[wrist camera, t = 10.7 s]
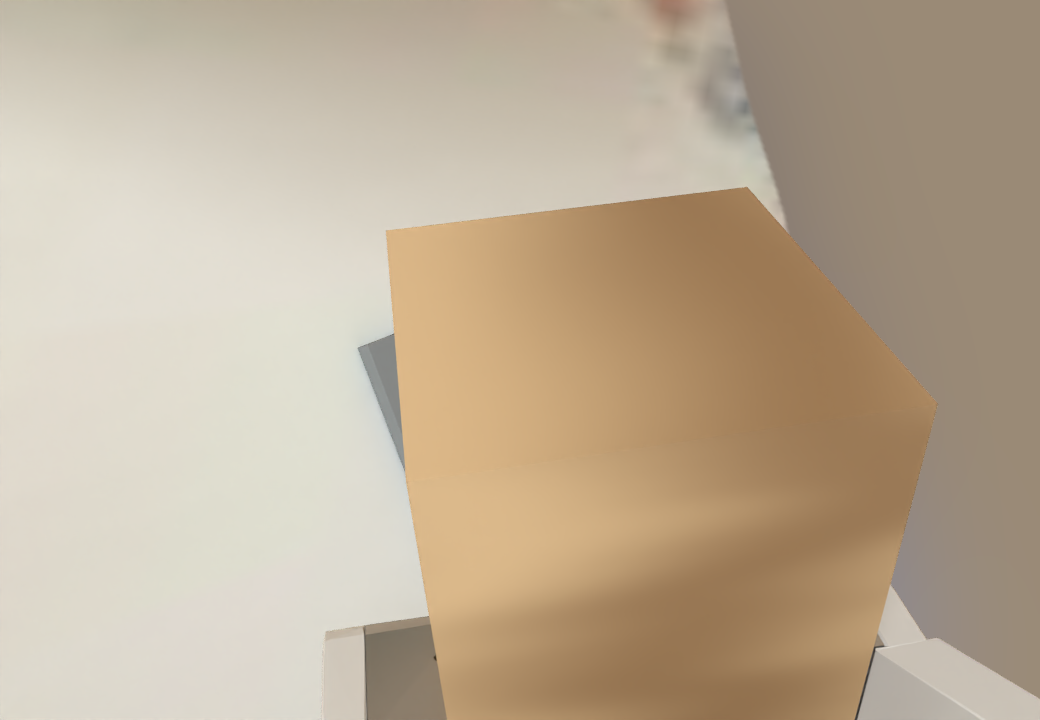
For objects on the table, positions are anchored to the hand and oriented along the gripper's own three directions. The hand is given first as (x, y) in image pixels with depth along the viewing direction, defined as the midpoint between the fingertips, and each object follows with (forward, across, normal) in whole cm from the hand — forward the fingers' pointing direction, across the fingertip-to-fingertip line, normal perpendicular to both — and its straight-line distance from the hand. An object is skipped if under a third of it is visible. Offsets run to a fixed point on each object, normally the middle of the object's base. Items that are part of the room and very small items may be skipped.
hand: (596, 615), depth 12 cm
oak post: (-1, 0, +7) cm, 7 cm away
